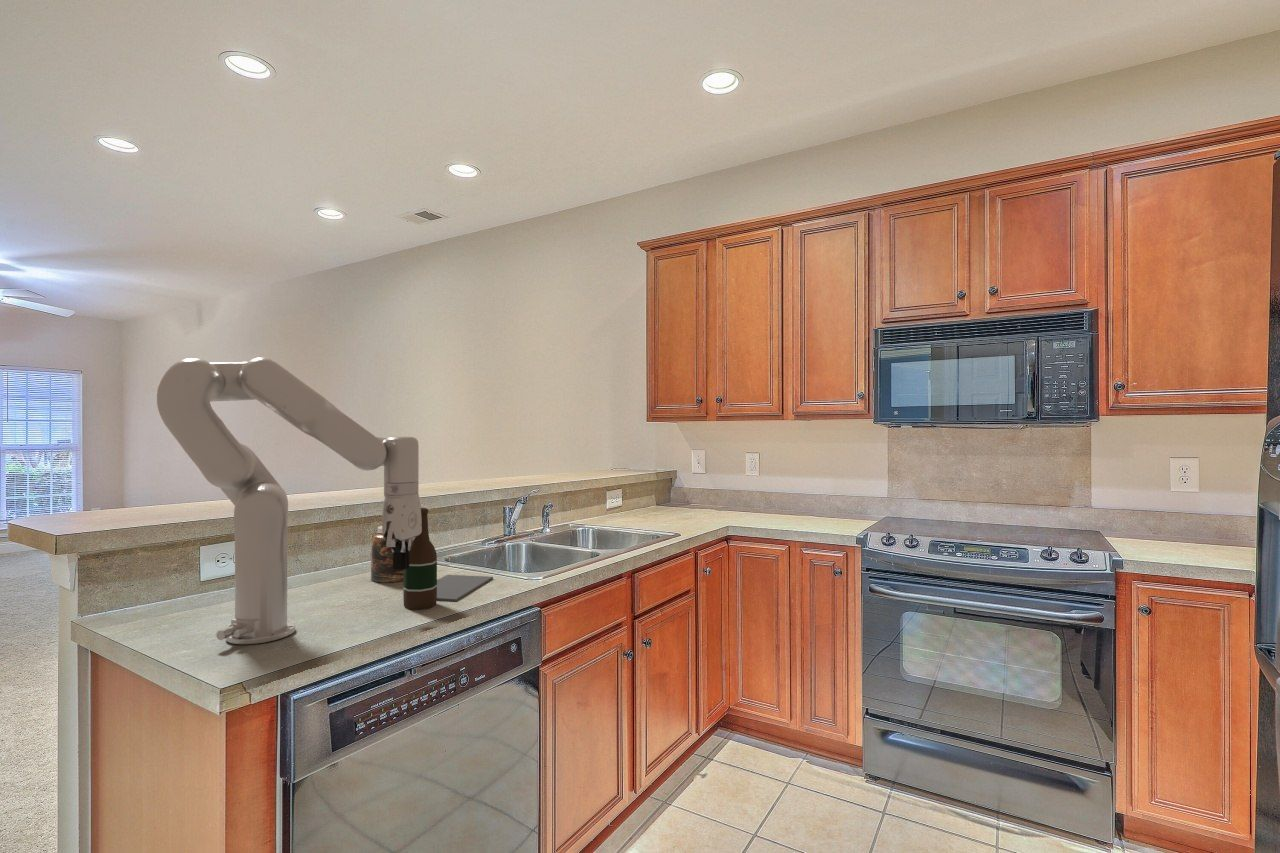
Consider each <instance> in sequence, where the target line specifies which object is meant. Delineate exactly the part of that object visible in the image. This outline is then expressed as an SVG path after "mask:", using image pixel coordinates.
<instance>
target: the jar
mask: <svg viewBox="0 0 1280 853" xmlns="http://www.w3.org/2000/svg"><path fill="white" fill-rule="evenodd" d="M386 542H387V540H384V539H383V535H382V525H379V526H378V527H377V532H376V533H373V534H372V536H371V543H370V551H371V552H370V580H371V581H372V582H375V583H381V584H383V583H386V584H387V583H397V582H404V570H401V569H393V552H392V548H391V547H387V546H386Z"/></svg>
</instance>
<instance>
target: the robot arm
mask: <svg viewBox="0 0 1280 853" xmlns="http://www.w3.org/2000/svg"><path fill="white" fill-rule="evenodd" d="M251 400H256V401H258V402H260V404H262V405H264V406H265V407H266V408H268V409H270V411H272V412H274V413H276V414H277V415H278V416H279V417H281V418H283V419H284V420H285V421H286V422H288V423H290V424H291V425H292V426H294V427H295V428H297V429H298V430H299V431H301V432H303V433H304V434H305V435H308V436H310V437H312V438H314V439H315V440H317V441H319V442H321V443H322V444H323V445H325V446H326V447H328V448H329V449H331V450H332V451H334V452H335V453H336V454H337V455H339V456H340V457H341V458H343V459H345V460H346V461H348V462H349V463H350V464H352V465H353V466H354V467H356V468H357V469H358V470H359V469H360V470H362V471H373V470H376V469H378V468H380V467H383V497H384V501H383V507H382V508H383V509H382V521H381V526H382V535H383V539H384V540H387V542H386V546H387V547H391V548H392V552H393V569H401V570H405V569H407V568H409V551H410V549H411V542H412V541H413V540H414V539H415V537H416V536H418V535H420V534H421V532H422V519H421V508H422V506H421V501H420V500H421V499H420V494H419V483H420V482H419V467H420V466H419V464H420V462H419V459H420V458H419V456H420V455H419V454H420V453H419V441H418V439H417V438H416V437H413V436H390V437H379V436H378V437H377V436H375V435H374V434H373V433H372V432H370V431H368V430H367V429H366V428H364V427H363V426H362V425H360V424H359V423H358V422H356V421H355V420H353V419H352V418H351V417H349V416H348V415H346V413H344V412H343V411H341V410H340V409H338V408H337V406H335V405H334V404H333V403H332V402H331V401H330V400H328V399H327V398H325V397H324V396H323V395H321V394H320V393H318V392H317V391H316V390H314V389H312V388H311V387H310V386H309V385H307V384H306V383H305V382H304V381H302V380H301V379H299V378H298V377H296V375H294V374H293V373H291V372H290V371H289V370H287V369H285V367H283V366H282V365H280V364H279V363H277V362H276V361H275V360H273V359H271V358H270V359H269V358H267V357H256V358H252V359H250V360H248V361H242V362H239V361H238V362H209V361H208V360H204V359H202V358H198V357H197V358H194V357H193V358H192V357H190V358H189V357H188V358H184V359H180V360H179V361H177V362H176V363H174V364H173V365H171V366H170V367H169V368H168V369H167V371H165V373H164V374H163V376H162V378H161V380H160V382H159V385H158V387H157V393H156V405H157V406H156V407H157V411H158V413H159V416H160V418H161V420H162V422H163V424H164V425H165V427H166V429H167V430H169V432H170V434H171V435H172V436H173V437H174V439H175V440H176V441H177V442H178V444H179V445H180V447H181V448H182V449H183V451H184V452H185V453H186V454H187V456H188V457H189V458H190V460H192V462H193V463H194V465H195V466H196V467H197V468H198V470H199V471H200V472H201V474H202V475H203V477H204V478H205V480H206V481H207V482H209V484H211V485H213V486H215V487H216V488H217V487H218V488H220V489H221V490H222V492H223V493H224V494H225V495H226V497H227V498H228V499H229V500H230V502H231V503H232V504H233V505H234V510H233V530H234V618H232V619H231V620H230V622H231V624H230V625H229V626H228V627H224V628H223V629H220V630H217V632H216V635H215V636H216V638H217V640H219V641H223V640H225V641H226V642H228V643H230V644H235V645H256V644H263V643H269V642H273V641H276V640H280V639H284V638H287V637H289V636H290V635H292V634H294V632H295V631H296V624H295V623H294V622H293V621H288V521H289V519H288V518H289V499H288V496H287V493H286V492H285V490H284V488H283V487H282V486H281V485H280V483H279V482H278V481H277V479H276V478H275V477H274V476H273V475H272V473H271V472H270V471H269V470H268V468H267V467H266V465H265V464H264V463H263V462H262V461H261V459H260V458H259V457H258V455H256V453H255V452H254V451H253V450H252V449H251V448H250V447H248V446H247V445H245V444H242V443H240V441H239V440H238V439H236V437H235V436H234V435H233V434H232V432H231V431H230V430H229V429H228V427H227V426H226V424H225V423H224V421H223V420H222V419H221V417H219V415H218V414H217V413H216V412H215V410H214V409H213V407H212V405H211V402H231V401H233V402H235V401H236V402H237V401H251Z"/></svg>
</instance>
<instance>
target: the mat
mask: <svg viewBox="0 0 1280 853" xmlns="http://www.w3.org/2000/svg"><path fill="white" fill-rule="evenodd" d="M493 579H494V577H493V576H489V575H488V576H484V575H482V576H481V575H465V574H464V575H459V574H446V575H444V576H442V577H440V578H437V601H438V602H439V601H440V602H442V601H443V602H457V601H460V600H461V599H462V598H464V597H465V596H467V595H469V594H471V593H472V592H473V591H476V590H477V589H479V588H480V587H482V586H483V585H485V584H487V583H489V582H490V581H491V580H493ZM437 601H436V602H437Z"/></svg>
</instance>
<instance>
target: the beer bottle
mask: <svg viewBox="0 0 1280 853" xmlns="http://www.w3.org/2000/svg"><path fill="white" fill-rule="evenodd" d="M429 512H430V511H429V509H428V508H426V507H421V519H422V532H421V534H420V535H418V536H416V537H415V539H414V540H413V541H412V542H411V549H410V551H409V568H407V569H405V570H404V581H402V582H403V587H402V588H403V594H402V596H403V598H402V600H403V607H404V608H406V609H407V610H413V611H414V610H415V611H417V610H418V611H419V610H421V611H422V610H427V609H431V608H434V606H436V604H437V580H438V557H437V551H436V548H435V546H434V544H433V543H432V542H431V540H430V534H429V520H428V516H429V515H428V514H429Z"/></svg>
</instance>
